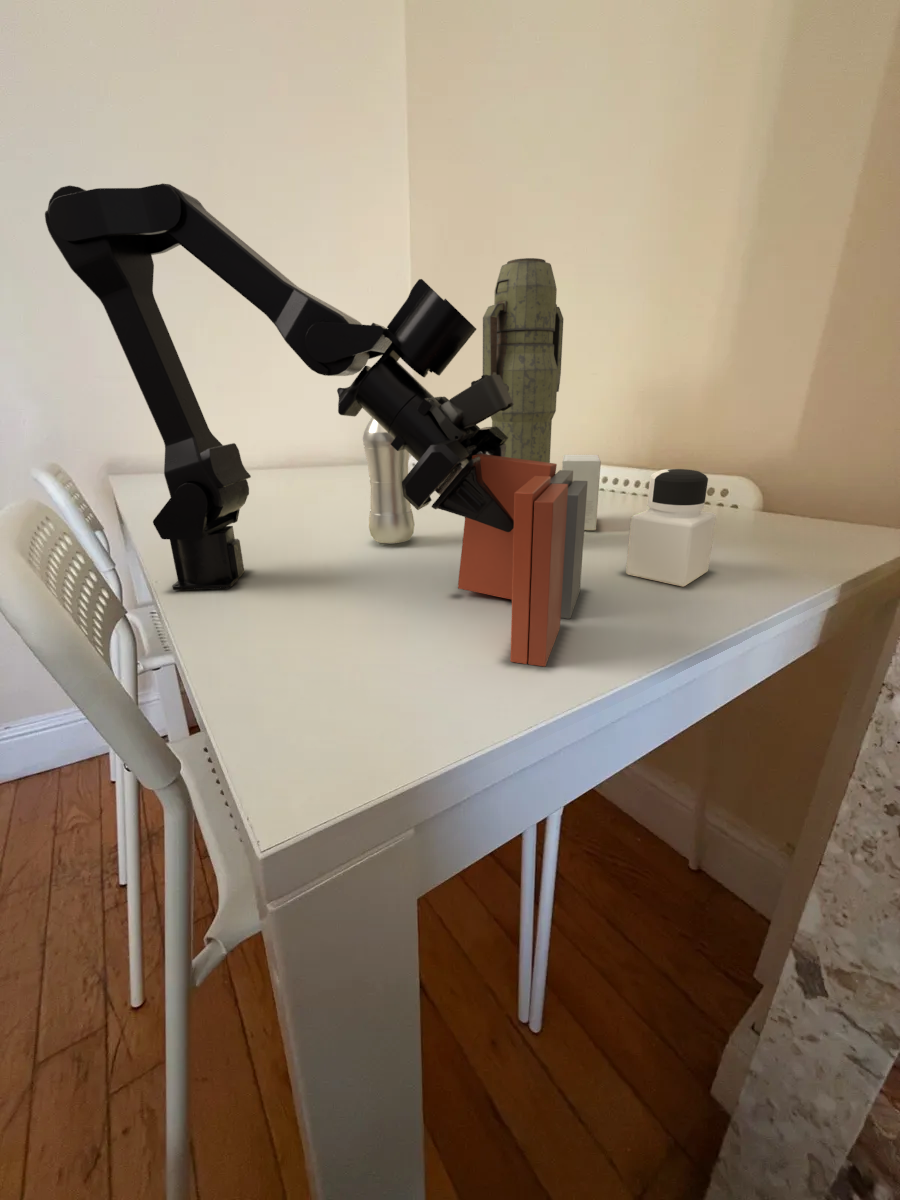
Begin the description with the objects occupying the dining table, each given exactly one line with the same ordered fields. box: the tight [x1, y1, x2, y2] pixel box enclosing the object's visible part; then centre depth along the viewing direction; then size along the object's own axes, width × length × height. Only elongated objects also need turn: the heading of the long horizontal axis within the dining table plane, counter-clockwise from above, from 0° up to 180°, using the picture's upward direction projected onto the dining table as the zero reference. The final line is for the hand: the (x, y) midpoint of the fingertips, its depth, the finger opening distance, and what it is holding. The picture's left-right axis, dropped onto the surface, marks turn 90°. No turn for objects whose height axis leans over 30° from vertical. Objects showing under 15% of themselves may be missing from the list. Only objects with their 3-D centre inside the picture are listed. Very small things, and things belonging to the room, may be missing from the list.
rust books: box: [510, 476, 568, 667], centre depth 47 cm, size 3×8×14 cm, turn 161°
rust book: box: [457, 454, 558, 601], centre depth 59 cm, size 8×3×14 cm, turn 69°
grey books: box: [550, 469, 588, 620], centre depth 57 cm, size 3×8×13 cm, turn 161°
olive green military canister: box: [482, 257, 564, 463], centre depth 75 cm, size 9×12×35 cm
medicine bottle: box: [625, 468, 717, 587], centre depth 65 cm, size 7×7×12 cm
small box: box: [561, 454, 602, 531], centre depth 88 cm, size 8×6×10 cm
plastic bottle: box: [362, 417, 415, 545], centre depth 79 cm, size 6×7×20 cm
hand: (520, 520), depth 58 cm, fingers closed on rust book, 6 cm apart
